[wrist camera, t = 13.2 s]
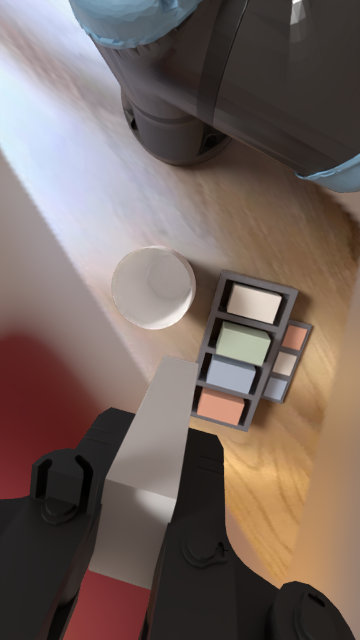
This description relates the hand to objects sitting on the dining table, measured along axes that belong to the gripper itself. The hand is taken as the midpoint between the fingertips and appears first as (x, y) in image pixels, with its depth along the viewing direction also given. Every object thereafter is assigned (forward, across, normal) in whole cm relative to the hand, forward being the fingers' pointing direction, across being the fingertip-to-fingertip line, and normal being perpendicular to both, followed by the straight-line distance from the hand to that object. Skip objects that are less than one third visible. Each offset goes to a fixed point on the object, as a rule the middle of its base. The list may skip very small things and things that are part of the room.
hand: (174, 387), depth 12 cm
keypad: (+30, +6, -8) cm, 32 cm away
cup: (+30, -5, 0) cm, 31 cm away
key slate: (+29, +7, -11) cm, 32 cm away
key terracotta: (+29, +6, -16) cm, 34 cm away
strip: (+30, +14, -8) cm, 34 cm away
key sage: (+27, +7, -6) cm, 29 cm away
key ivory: (+29, +7, 0) cm, 30 cm away
